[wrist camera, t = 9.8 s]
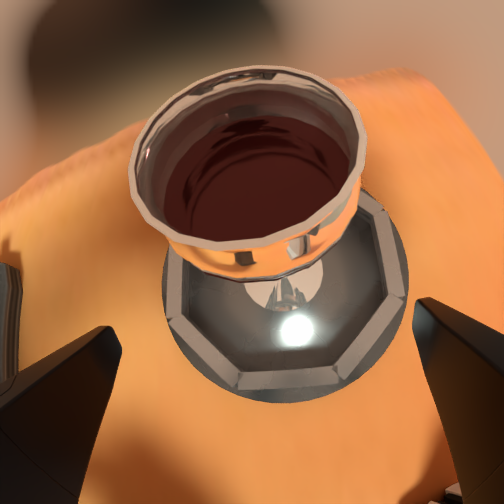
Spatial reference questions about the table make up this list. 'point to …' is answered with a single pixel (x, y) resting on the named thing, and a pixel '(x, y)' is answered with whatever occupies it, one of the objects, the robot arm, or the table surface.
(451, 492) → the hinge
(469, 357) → the robot arm
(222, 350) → the rosette plate
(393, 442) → the table surface
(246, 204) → the wineglass
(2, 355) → the zipper pull
